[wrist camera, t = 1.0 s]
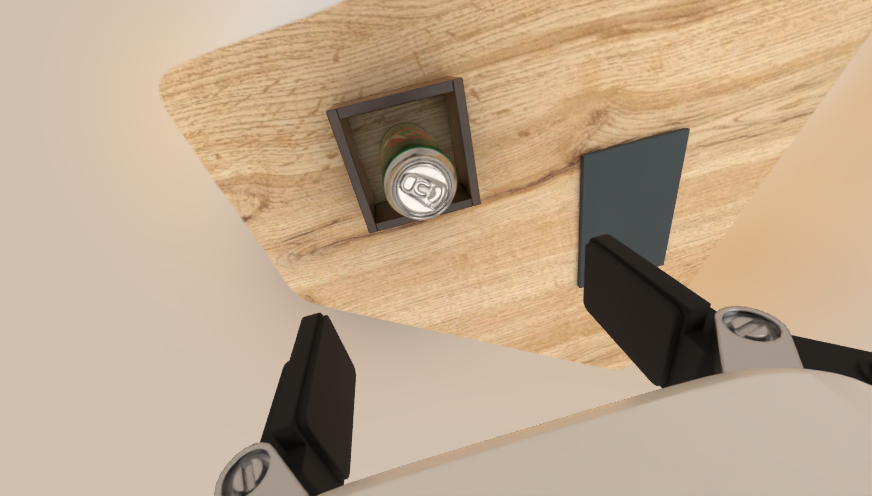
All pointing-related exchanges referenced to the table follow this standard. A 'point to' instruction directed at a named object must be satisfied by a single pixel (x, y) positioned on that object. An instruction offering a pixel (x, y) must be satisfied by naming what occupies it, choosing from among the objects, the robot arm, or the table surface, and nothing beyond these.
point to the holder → (451, 87)
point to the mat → (632, 194)
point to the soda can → (416, 173)
